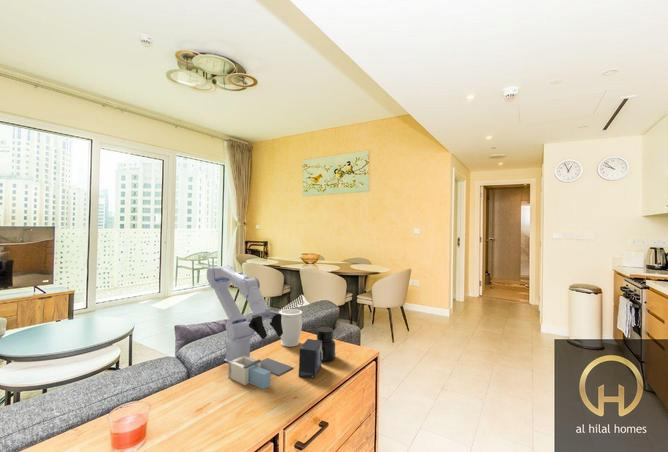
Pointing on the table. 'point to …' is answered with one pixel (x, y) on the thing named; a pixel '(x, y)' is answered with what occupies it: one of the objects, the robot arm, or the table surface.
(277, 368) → the mat
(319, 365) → the small box
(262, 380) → the slab
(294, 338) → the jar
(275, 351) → the table surface
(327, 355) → the ink bottle
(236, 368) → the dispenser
